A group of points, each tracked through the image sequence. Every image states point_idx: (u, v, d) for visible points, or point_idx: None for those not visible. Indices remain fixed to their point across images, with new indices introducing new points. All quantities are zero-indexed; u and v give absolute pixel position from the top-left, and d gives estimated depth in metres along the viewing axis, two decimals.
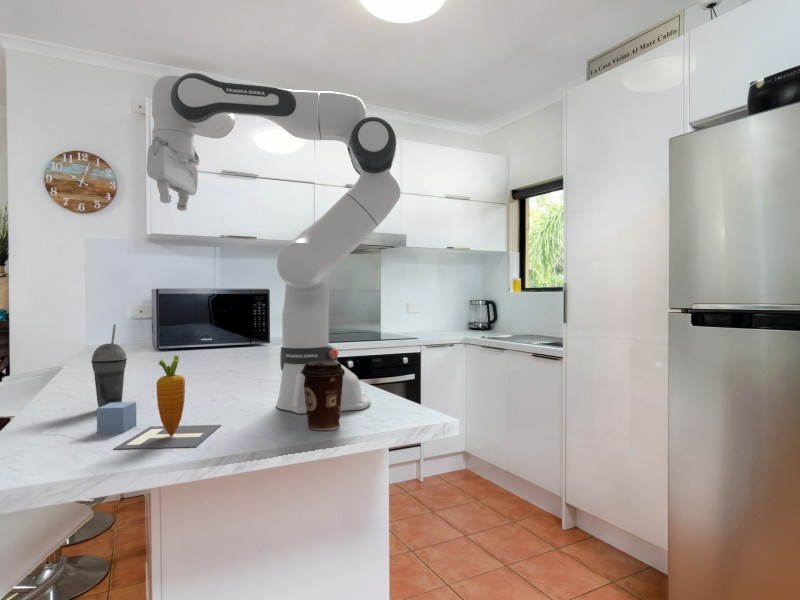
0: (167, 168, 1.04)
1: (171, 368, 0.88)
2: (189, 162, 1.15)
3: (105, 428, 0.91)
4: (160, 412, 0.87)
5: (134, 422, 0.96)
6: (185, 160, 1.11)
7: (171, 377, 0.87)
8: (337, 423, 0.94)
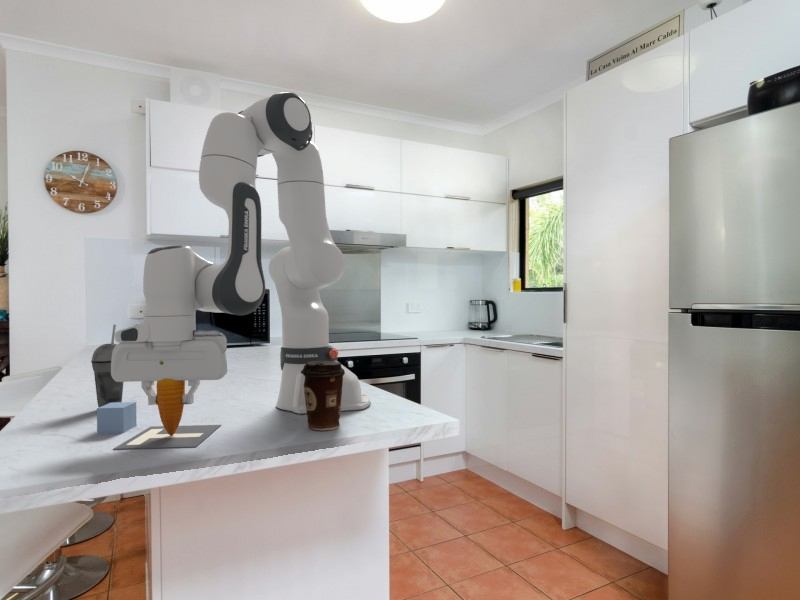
0: None
1: None
2: None
3: (105, 428, 0.91)
4: (160, 412, 0.87)
5: (134, 422, 0.96)
6: None
7: None
8: (337, 423, 0.94)
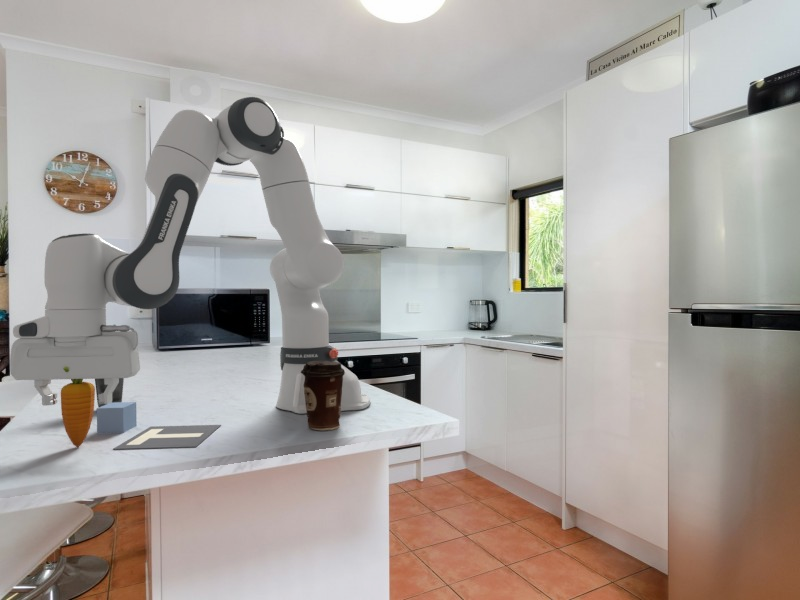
0: None
1: None
2: None
3: (104, 428, 0.91)
4: (64, 422, 0.81)
5: (134, 422, 0.96)
6: None
7: (76, 385, 0.81)
8: (337, 423, 0.94)
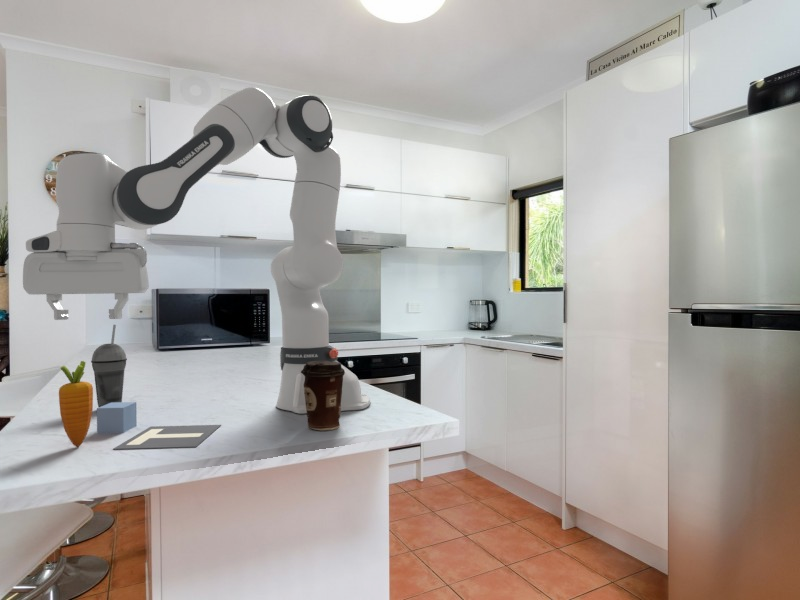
0: None
1: (75, 374, 0.82)
2: None
3: (104, 428, 0.91)
4: (63, 422, 0.82)
5: (134, 422, 0.96)
6: None
7: (74, 384, 0.82)
8: (337, 423, 0.94)
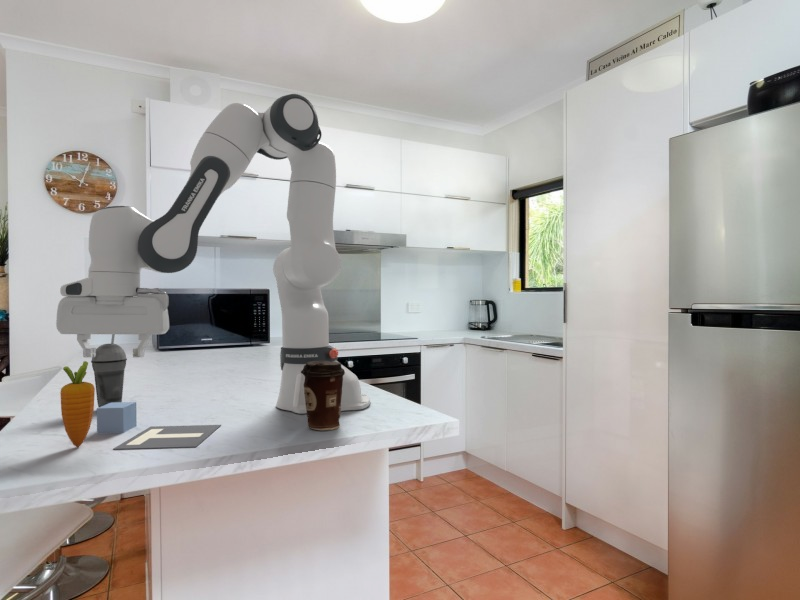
0: None
1: (77, 375, 0.82)
2: None
3: (104, 428, 0.91)
4: (64, 422, 0.81)
5: (134, 422, 0.96)
6: None
7: (76, 385, 0.82)
8: (337, 423, 0.94)
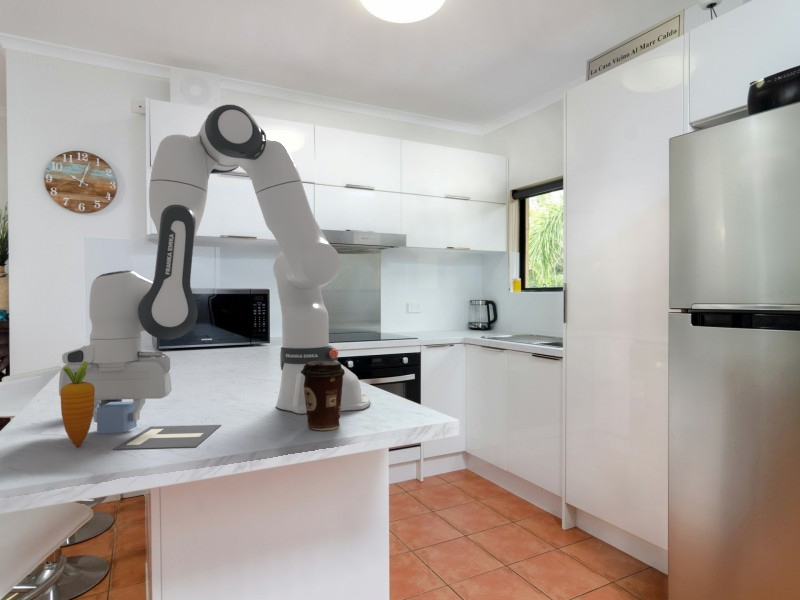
0: None
1: (77, 375, 0.82)
2: None
3: (105, 427, 0.91)
4: (64, 422, 0.81)
5: (134, 421, 0.96)
6: None
7: (76, 385, 0.82)
8: (337, 423, 0.94)
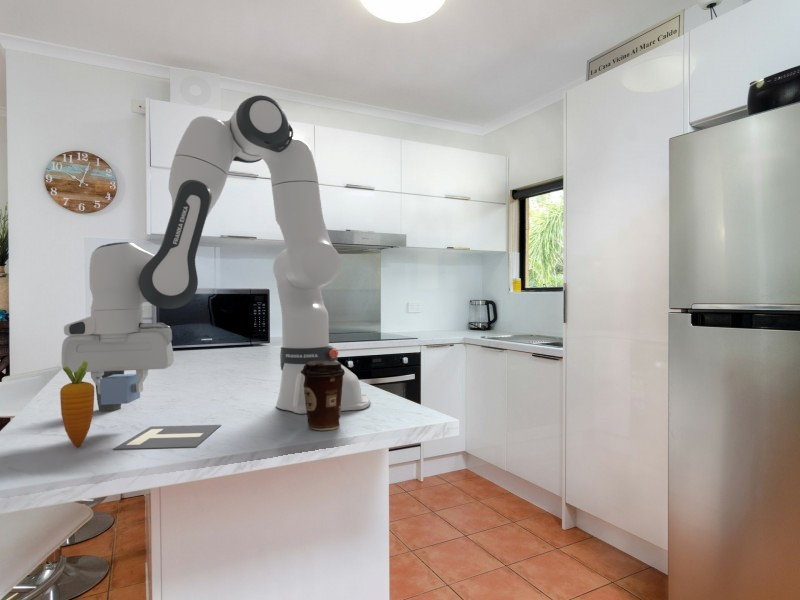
0: None
1: (77, 375, 0.82)
2: None
3: (108, 398, 0.92)
4: (64, 422, 0.81)
5: (137, 393, 0.96)
6: None
7: (76, 385, 0.82)
8: (337, 423, 0.94)
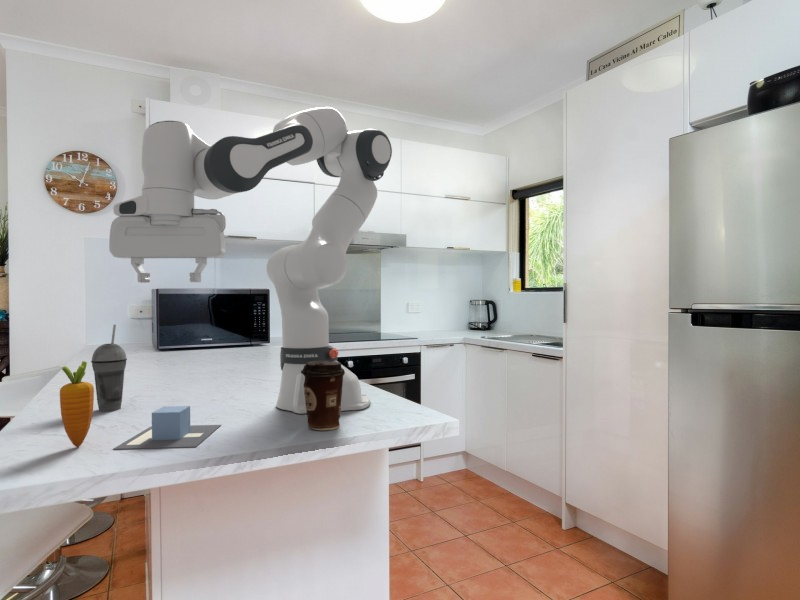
0: None
1: (76, 375, 0.82)
2: None
3: (160, 433, 0.86)
4: (64, 422, 0.81)
5: (188, 427, 0.91)
6: None
7: (75, 384, 0.82)
8: (337, 423, 0.94)
